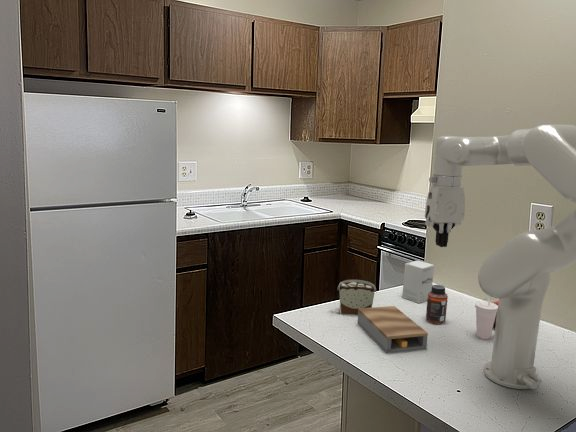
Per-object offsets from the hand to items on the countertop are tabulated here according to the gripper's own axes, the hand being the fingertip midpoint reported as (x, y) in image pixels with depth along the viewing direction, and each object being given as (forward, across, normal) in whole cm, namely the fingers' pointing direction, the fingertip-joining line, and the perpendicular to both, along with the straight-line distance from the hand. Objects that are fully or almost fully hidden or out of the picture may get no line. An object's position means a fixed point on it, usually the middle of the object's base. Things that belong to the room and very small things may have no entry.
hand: (441, 245), depth 145 cm
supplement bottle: (+27, +6, +9) cm, 29 cm away
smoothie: (+27, +14, -4) cm, 31 cm away
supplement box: (+27, +10, +28) cm, 40 cm away
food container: (+27, -16, +21) cm, 38 cm away
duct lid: (+23, -13, +2) cm, 26 cm away
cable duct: (+27, -13, +2) cm, 30 cm away
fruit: (+27, +24, +1) cm, 36 cm away
